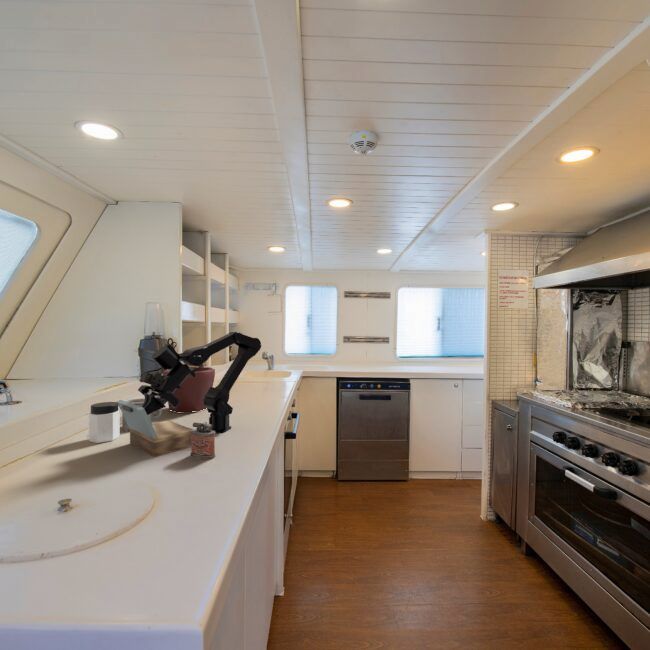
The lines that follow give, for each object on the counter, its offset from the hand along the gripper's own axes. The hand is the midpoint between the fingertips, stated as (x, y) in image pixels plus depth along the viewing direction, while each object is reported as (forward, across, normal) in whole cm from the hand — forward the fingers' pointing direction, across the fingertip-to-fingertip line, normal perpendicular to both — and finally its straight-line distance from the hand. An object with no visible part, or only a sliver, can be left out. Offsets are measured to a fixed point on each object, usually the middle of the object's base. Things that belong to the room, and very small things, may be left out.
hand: (138, 417), depth 110 cm
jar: (+9, -21, +6) cm, 24 cm away
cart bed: (+2, 0, +12) cm, 13 cm away
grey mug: (-1, -27, +16) cm, 32 cm away
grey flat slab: (+3, 0, +4) cm, 5 cm away
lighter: (0, +20, +15) cm, 25 cm away
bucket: (-20, -41, +34) cm, 57 cm away
